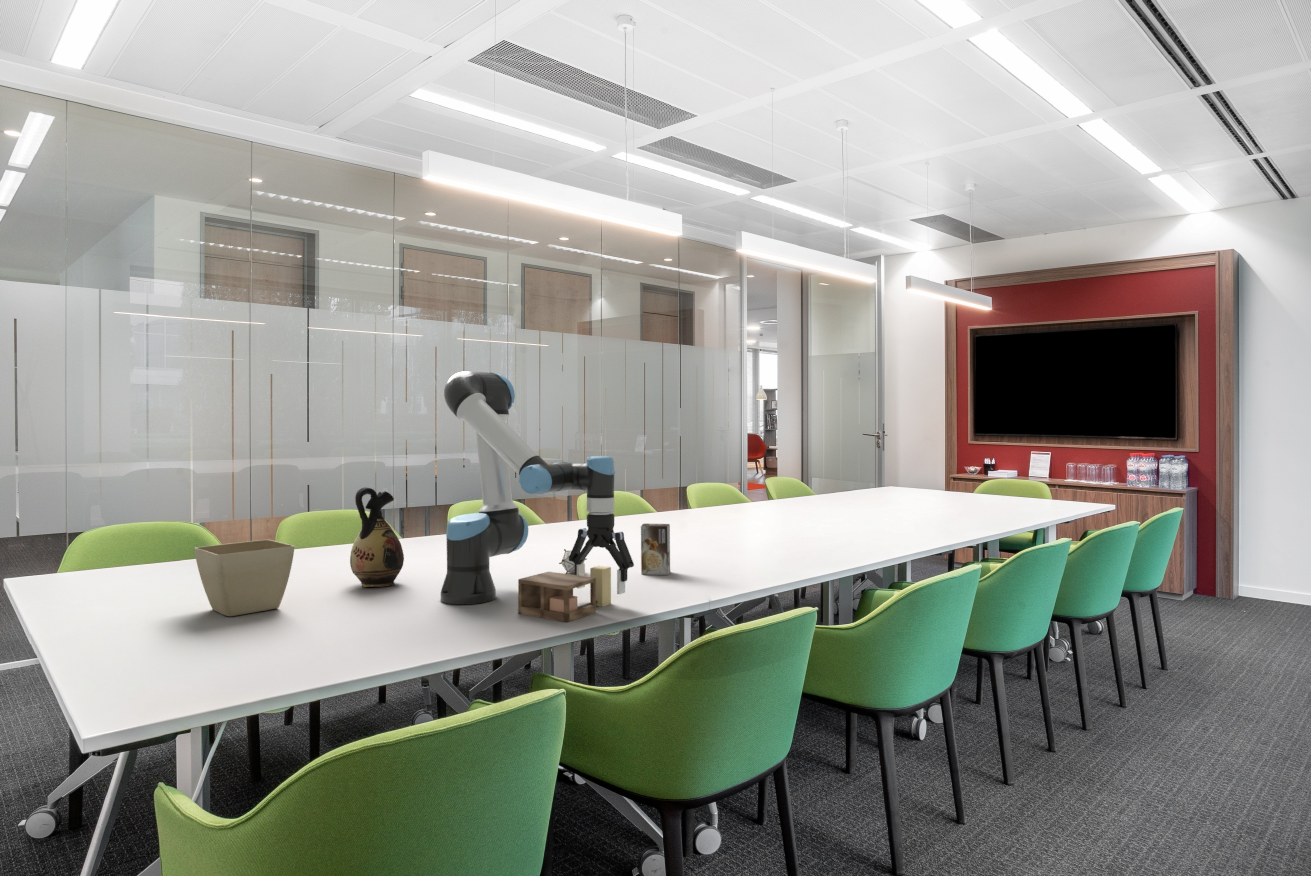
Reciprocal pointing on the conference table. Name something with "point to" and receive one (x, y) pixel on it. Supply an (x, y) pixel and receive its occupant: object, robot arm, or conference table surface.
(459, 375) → the robot arm
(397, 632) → the conference table surface
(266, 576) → the flower pot
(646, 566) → the coffee box
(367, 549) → the ceramic jug
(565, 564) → the game die
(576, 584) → the shelf
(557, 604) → the block
